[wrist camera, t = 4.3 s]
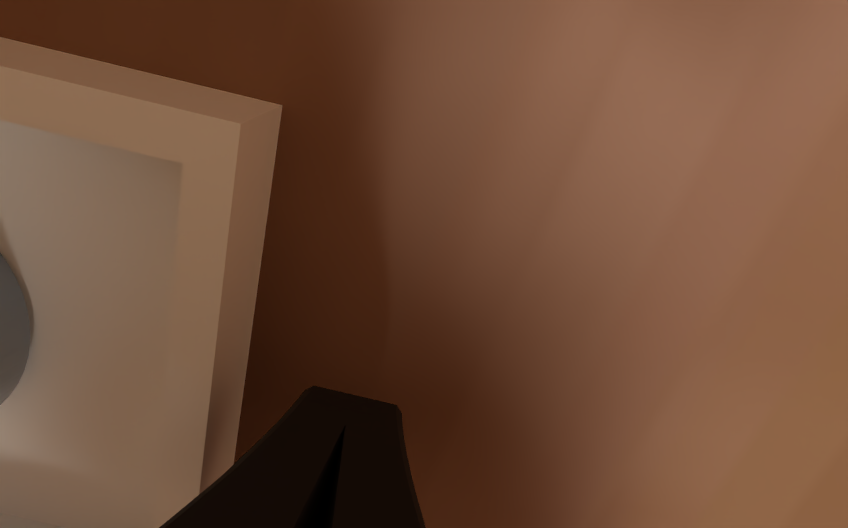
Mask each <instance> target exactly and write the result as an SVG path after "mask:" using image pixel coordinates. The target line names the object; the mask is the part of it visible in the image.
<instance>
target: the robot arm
mask: <svg viewBox="0 0 848 528" xmlns="http://www.w3.org/2000/svg"><path fill="white" fill-rule="evenodd" d="M159 528H426V527H425V524H424V520H423V517H422V513H421V510H420V506H419V503H418V499H417V496H416V492H415V489H414V485H413V480H412V476H411V472H410V467H409V463H408V458H407V453H406V447H405V442H404V435H403V426H402V413H401V411H400V410H399V408H398V407H397V405H394V404H390V403H385V402H381V401H377V400H373V399H368V398H364V397H360V396H355V395H351V394H347V393H342V392H338V391H334V390H330V389H325V388H321V387H317V386H312V387H310V388H309V389H307V390H305V391H304V392H303V393H302V395H301V396H300V397H299V398H298V400H297V401H296V402H295V403H294V404H293V405H292V407H291V408H290V409H289V410H288V411H287V412H286V413H285V415H284V416H283V417H282V418H281V419H280V420H279V421H278V422H277V423H276V424H275V425H274V426H273V427H272V428H271V429H270V430H269V431H268V432H267V433H266V434H265V435H264V436H263V437H262V438H261V439H260V440H259V441H258V442H257V443H256V444H255V445H254V446H253V447H252V448H251V449H250V450H249V451H248V452H246V453H245V454H244V455H243V456H242V457H241V458H240V459H239V460H238V461H237V462H236V463H235V464H234V465H233V466H232V467H230V468H229V469H228V470H227V471H226V472H225V473H224V474H223V475H222V476H221V477H219V478H218V479H217V480H216V481H215V482H214V483H213V484H211V485H210V486H209V487H208V488H206V489H205V490H204V491H203V492H202V493H200V494H199V495H198V496H197V497H196V498H194V499H193V500H192V501H191V502H190V503H188V504H187V505H186V506H185V507H184V508H182V509H181V510H180V511H179V512H178V513H176V514H175V515H174V516H173V517H171V518H170V519H169V520H168V521H167V522H165V523H164V524H163V525H161V526H160V527H159Z"/></svg>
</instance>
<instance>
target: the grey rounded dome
mask: <svg viewBox="0 0 848 528" xmlns="http://www.w3.org/2000/svg"><path fill="white" fill-rule="evenodd" d="M29 349H30V322H29V315H28V310H27V306H26V303H25V299H24V295H23V293H22V291H21V288H20V286H19V283H18V281H17V279H16V277H15V275H14V273H13V271H12V270H11V268H10V266H9V264H8V263H7V261H6V260H5V259H4V257H3V256H2V254H1V253H0V405H1V404H2V403H3V402H4V401H5V400H6V399H7V398H8V397H9V396H10V395H11V393H12V392H13V390H14V389H15V388H16V386H17V385H18V383H19V381H20V379H21V377H22V375H23V373H24V370H25V367H26V363H27V360H28V356H29Z"/></svg>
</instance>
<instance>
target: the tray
mask: <svg viewBox="0 0 848 528" xmlns="http://www.w3.org/2000/svg"><path fill="white" fill-rule="evenodd" d="M282 106H283V105H280V104H276V103H272V102H267V101H263V100H259V99H255V98H251V97H247V96H243V95H238V94H234V93H230V92H226V91H222V90H218V89H214V88H210V87H205V86H201V85H197V84H193V83H189V82H185V81H181V80H177V79H172V78H168V77H164V76H160V75H156V74H152V73H148V72H143V71H139V70H135V69H131V68H127V67H123V66H119V65H115V64H110V63H106V62H102V61H98V60H94V59H90V58H86V57H82V56H77V55H73V54H69V53H65V52H61V51H57V50H53V49H48V48H44V47H40V46H36V45H32V44H28V43H24V42H20V41H15V40H11V39H7V38H3V37H0V253H1V254H2V256H3V257H4V259H5V260H6V261H7V263H8V264H9V266H10V268H11V270H12V271H13V273H14V275H15V277H16V279H17V281H18V283H19V286H20V288H21V291H22V293H23V295H24V299H25V303H26V306H27V310H28V315H29V322H30V349H29V356H28V360H27V363H26V367H25V370H24V373H23V375H22V377H21V379H20V381H19V383H18V385H17V386H16V388H15V389H14V390H13V392H12V393H11V395H10V396H9V397H8V398H7V399H6V400H5V401H4V402H3V403H2V404H1V405H0V528H159V527H160V526H161V525H163V524H164V523H165V522H167V521H168V520H169V519H170V518H171V517H173V516H174V515H175V514H176V513H178V512H179V511H180V510H181V509H182V508H184V507H185V506H186V505H187V504H188V503H190V502H191V501H192V500H193V499H194V498H196V497H197V496H198V495H199V494H200V493H202V492H203V491H204V490H205V489H206V488H208V487H209V486H210V485H211V484H213V483H214V482H215V481H216V480H217V479H218V478H219V477H221V476H222V475H223V474H224V473H225V472H226V471H227V470H228V469H229V468H230V467H232V466H233V465H234V458H235V451H236V443H237V436H238V429H239V421H240V414H241V407H242V399H243V392H244V385H245V377H246V370H247V363H248V355H249V348H250V341H251V333H252V326H253V319H254V311H255V304H256V297H257V289H258V282H259V275H260V267H261V260H262V253H263V245H264V238H265V231H266V223H267V216H268V209H269V201H270V194H271V187H272V179H273V172H274V165H275V157H276V150H277V143H278V135H279V128H280V121H281V113H282Z"/></svg>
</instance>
